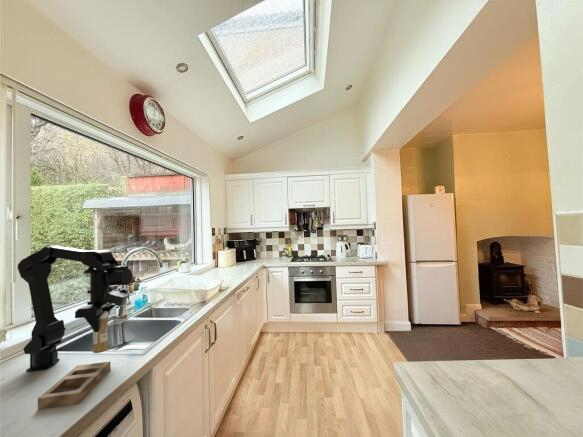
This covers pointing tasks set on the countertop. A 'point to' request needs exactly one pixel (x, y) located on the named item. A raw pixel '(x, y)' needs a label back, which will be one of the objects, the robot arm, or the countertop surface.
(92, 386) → the socket block
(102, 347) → the sprinkles bottle
